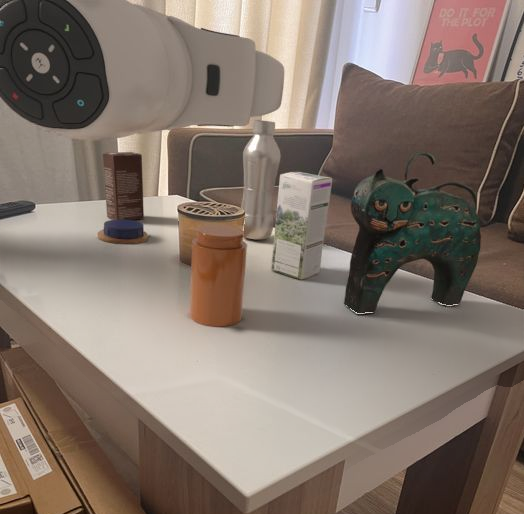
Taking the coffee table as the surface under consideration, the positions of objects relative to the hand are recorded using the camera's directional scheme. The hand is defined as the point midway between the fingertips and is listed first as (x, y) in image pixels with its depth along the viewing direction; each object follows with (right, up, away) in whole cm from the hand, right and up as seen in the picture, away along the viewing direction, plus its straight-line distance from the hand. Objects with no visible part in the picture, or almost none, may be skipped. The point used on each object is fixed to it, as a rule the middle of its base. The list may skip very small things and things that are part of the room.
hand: (196, 77), depth 55 cm
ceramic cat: (+26, -23, +17) cm, 38 cm away
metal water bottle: (+5, -8, +42) cm, 43 cm away
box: (-20, -3, +47) cm, 51 cm away
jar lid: (-17, -8, +34) cm, 39 cm away
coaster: (-17, -9, +35) cm, 40 cm away
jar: (+1, -24, +8) cm, 26 cm away
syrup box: (+12, -17, +26) cm, 33 cm away
